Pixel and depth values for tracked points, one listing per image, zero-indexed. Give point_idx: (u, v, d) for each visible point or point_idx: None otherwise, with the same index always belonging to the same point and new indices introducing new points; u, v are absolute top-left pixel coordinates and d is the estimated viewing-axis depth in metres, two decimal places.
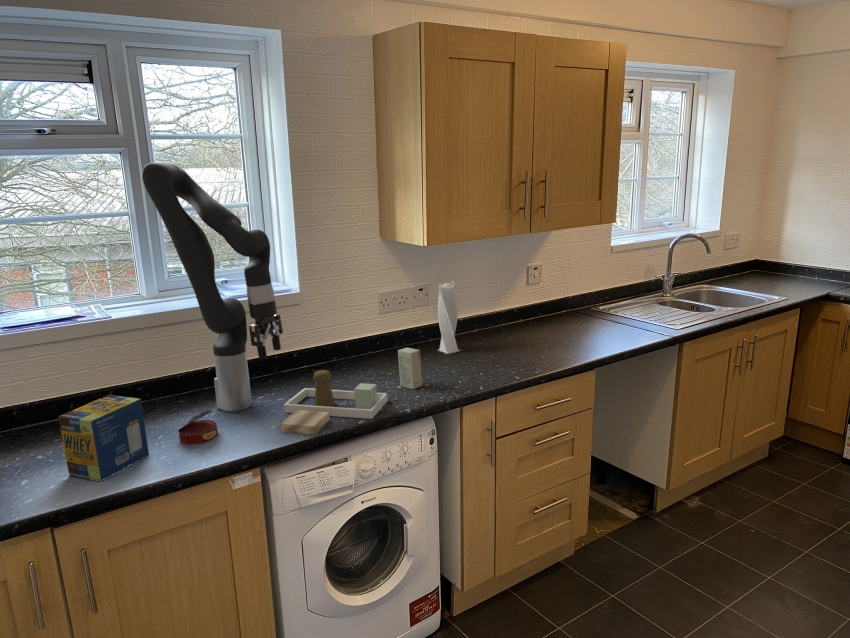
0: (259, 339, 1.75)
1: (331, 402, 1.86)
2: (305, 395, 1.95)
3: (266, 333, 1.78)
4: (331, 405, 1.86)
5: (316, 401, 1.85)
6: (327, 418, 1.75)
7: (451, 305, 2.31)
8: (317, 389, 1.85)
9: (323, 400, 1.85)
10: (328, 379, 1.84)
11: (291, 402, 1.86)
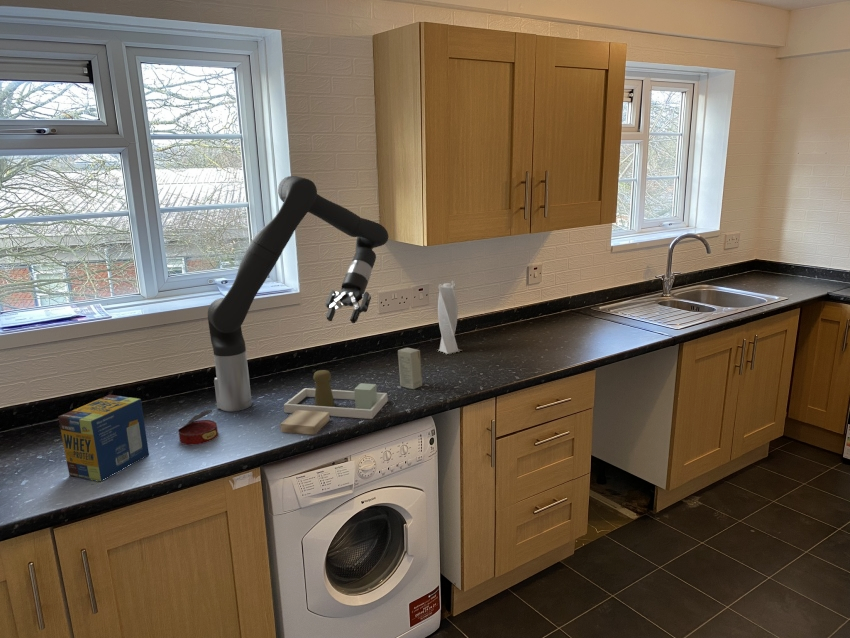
0: None
1: (331, 402, 1.86)
2: (305, 395, 1.95)
3: None
4: (331, 405, 1.86)
5: (316, 401, 1.85)
6: (327, 418, 1.75)
7: (451, 305, 2.31)
8: (317, 389, 1.85)
9: (323, 400, 1.85)
10: (328, 379, 1.84)
11: (291, 402, 1.86)
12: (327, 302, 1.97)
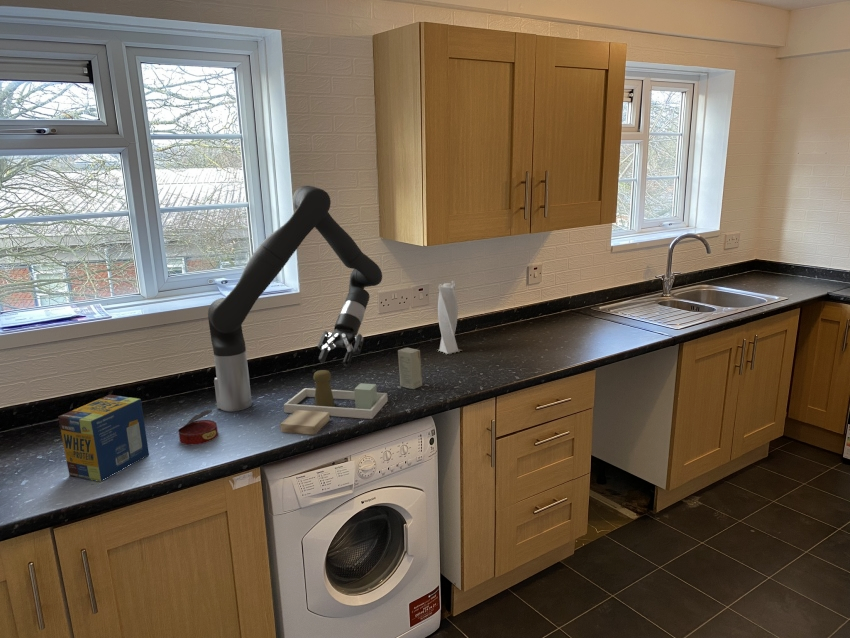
0: None
1: (331, 402, 1.86)
2: (305, 395, 1.95)
3: None
4: (331, 405, 1.86)
5: (316, 401, 1.85)
6: (327, 418, 1.75)
7: (451, 305, 2.31)
8: (317, 389, 1.85)
9: (323, 400, 1.85)
10: (328, 379, 1.84)
11: (291, 402, 1.86)
12: (320, 343, 1.95)
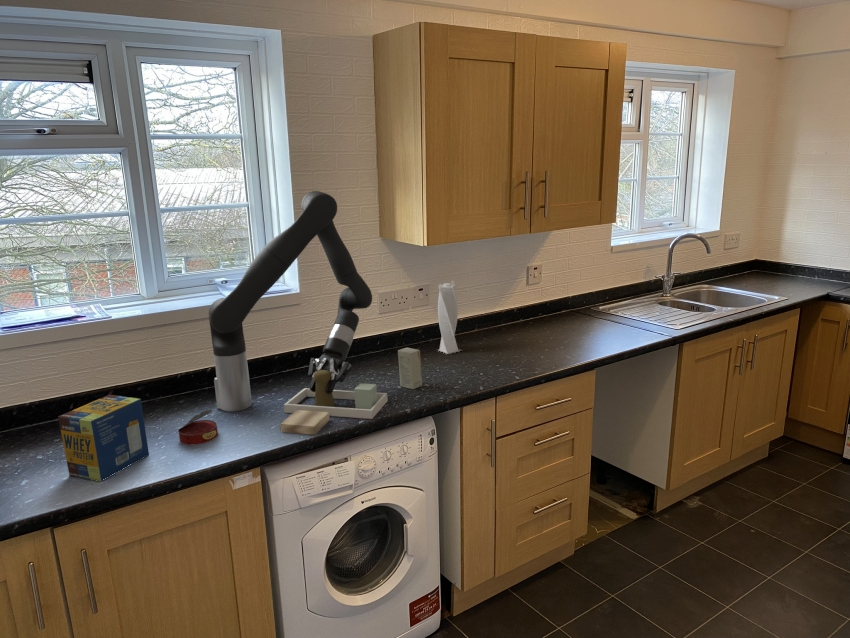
0: None
1: (331, 402, 1.86)
2: (305, 395, 1.95)
3: None
4: (331, 405, 1.86)
5: (316, 400, 1.85)
6: (327, 418, 1.75)
7: (451, 305, 2.31)
8: (317, 389, 1.85)
9: (323, 400, 1.85)
10: (328, 379, 1.84)
11: (291, 402, 1.86)
12: (310, 371, 1.89)
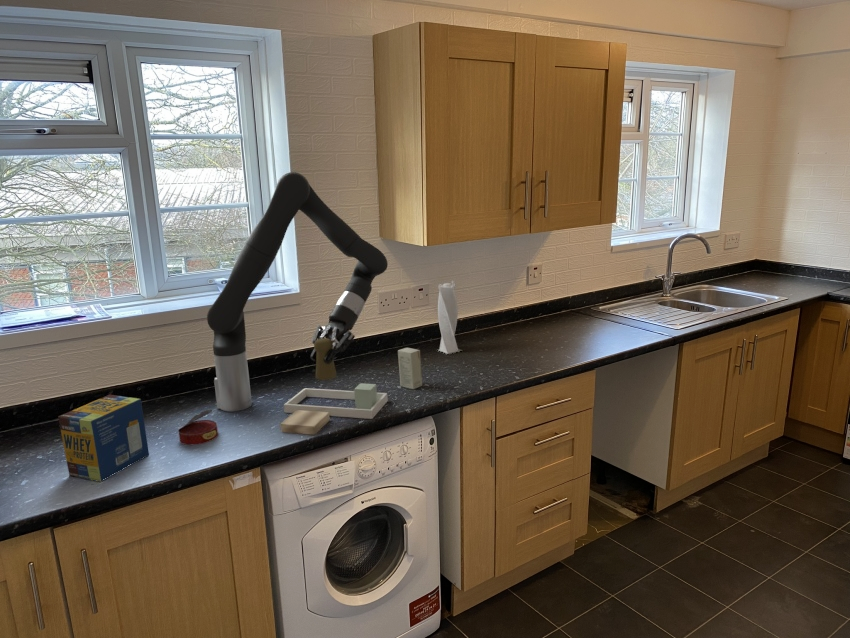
0: None
1: (331, 373, 1.75)
2: (305, 395, 1.95)
3: None
4: (331, 376, 1.75)
5: (316, 370, 1.75)
6: (327, 418, 1.75)
7: (451, 305, 2.31)
8: (317, 358, 1.74)
9: (322, 370, 1.74)
10: (328, 348, 1.73)
11: (291, 402, 1.86)
12: (314, 339, 1.79)
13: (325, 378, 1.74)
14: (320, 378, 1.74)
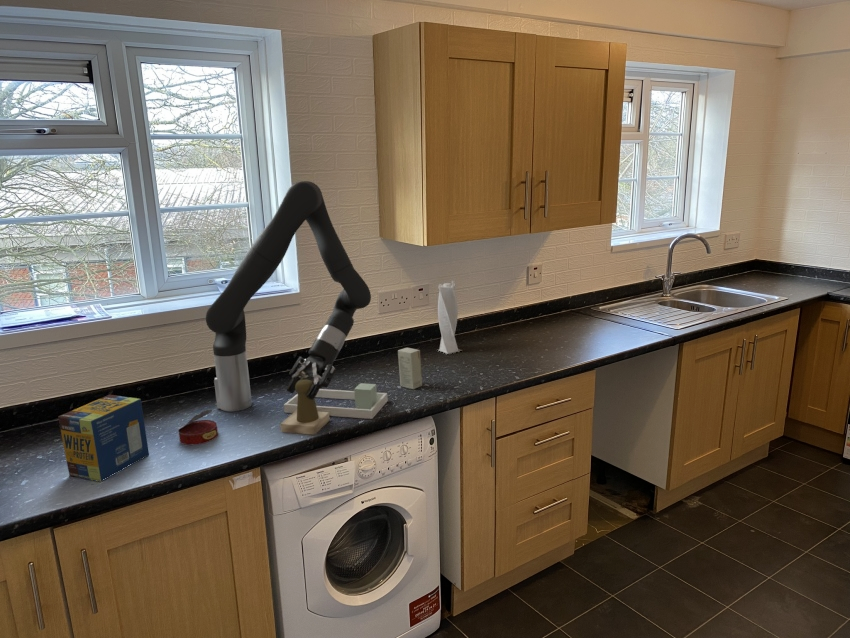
0: None
1: (313, 415, 1.70)
2: None
3: None
4: (312, 418, 1.70)
5: (297, 412, 1.71)
6: (327, 418, 1.75)
7: (451, 305, 2.31)
8: (298, 400, 1.70)
9: (303, 413, 1.69)
10: None
11: (291, 402, 1.86)
12: (291, 370, 1.75)
13: (306, 421, 1.70)
14: (301, 421, 1.70)
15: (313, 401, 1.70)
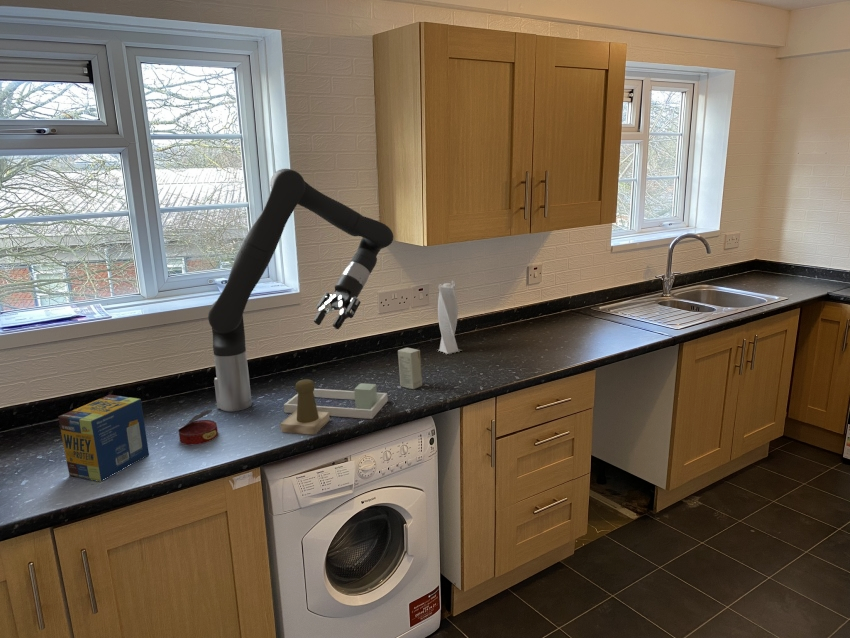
0: None
1: (313, 415, 1.70)
2: None
3: None
4: (312, 418, 1.70)
5: (297, 412, 1.71)
6: (327, 418, 1.75)
7: (451, 305, 2.31)
8: (298, 400, 1.70)
9: (303, 412, 1.69)
10: (309, 390, 1.68)
11: (291, 402, 1.86)
12: (318, 304, 1.86)
13: (306, 421, 1.70)
14: (301, 421, 1.70)
15: (313, 401, 1.70)
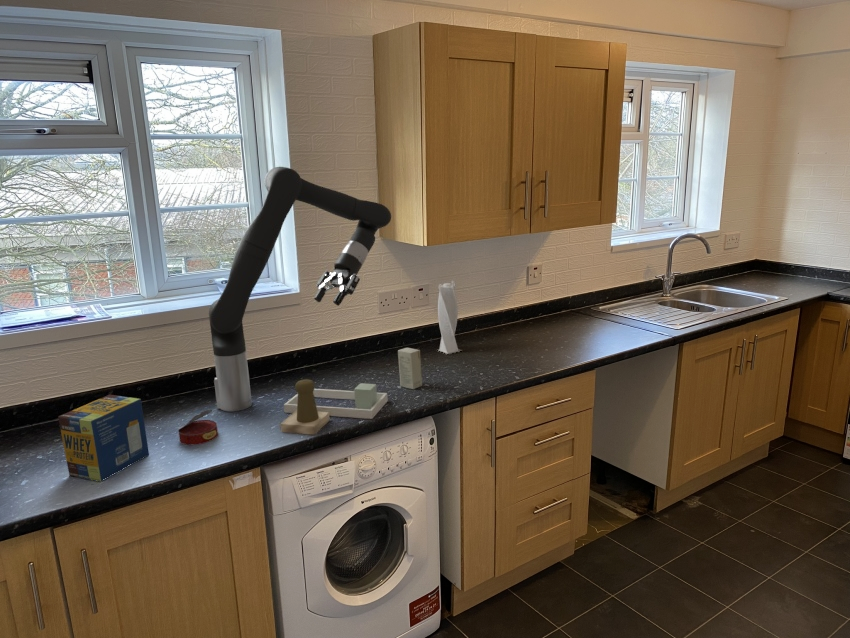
0: None
1: (313, 415, 1.70)
2: None
3: None
4: (312, 418, 1.70)
5: (297, 412, 1.71)
6: (327, 418, 1.75)
7: (451, 305, 2.31)
8: (298, 400, 1.70)
9: (303, 413, 1.69)
10: (309, 390, 1.68)
11: (291, 402, 1.86)
12: (318, 282, 1.91)
13: (306, 421, 1.70)
14: (301, 421, 1.70)
15: (313, 401, 1.70)
